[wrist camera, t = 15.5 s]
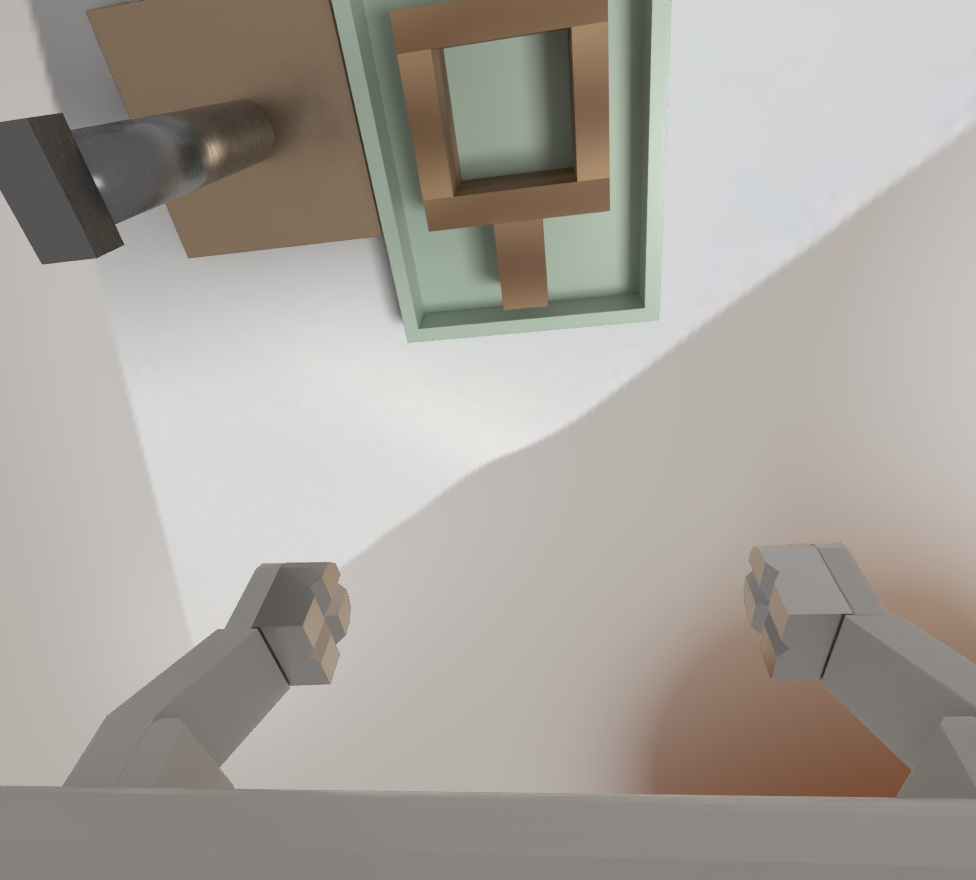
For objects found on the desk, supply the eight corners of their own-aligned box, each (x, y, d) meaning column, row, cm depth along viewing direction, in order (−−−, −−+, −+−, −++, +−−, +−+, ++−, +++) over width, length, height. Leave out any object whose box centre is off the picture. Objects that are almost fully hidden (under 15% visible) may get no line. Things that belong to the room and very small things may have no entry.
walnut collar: (407, 15, 27) (389, 11, 24) (599, -17, 26) (607, -25, 23) (452, 290, 35) (443, 315, 32) (603, 275, 34) (610, 299, 30)
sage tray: (331, -83, 26) (309, -97, 24) (664, -148, 24) (678, -169, 22) (416, 322, 37) (407, 342, 34) (650, 300, 35) (659, 320, 33)
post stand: (98, 11, 29) (-297, -18, 15) (327, -30, 27) (117, -104, 14) (196, 253, 35) (-17, 383, 22) (385, 231, 34) (282, 356, 20)
